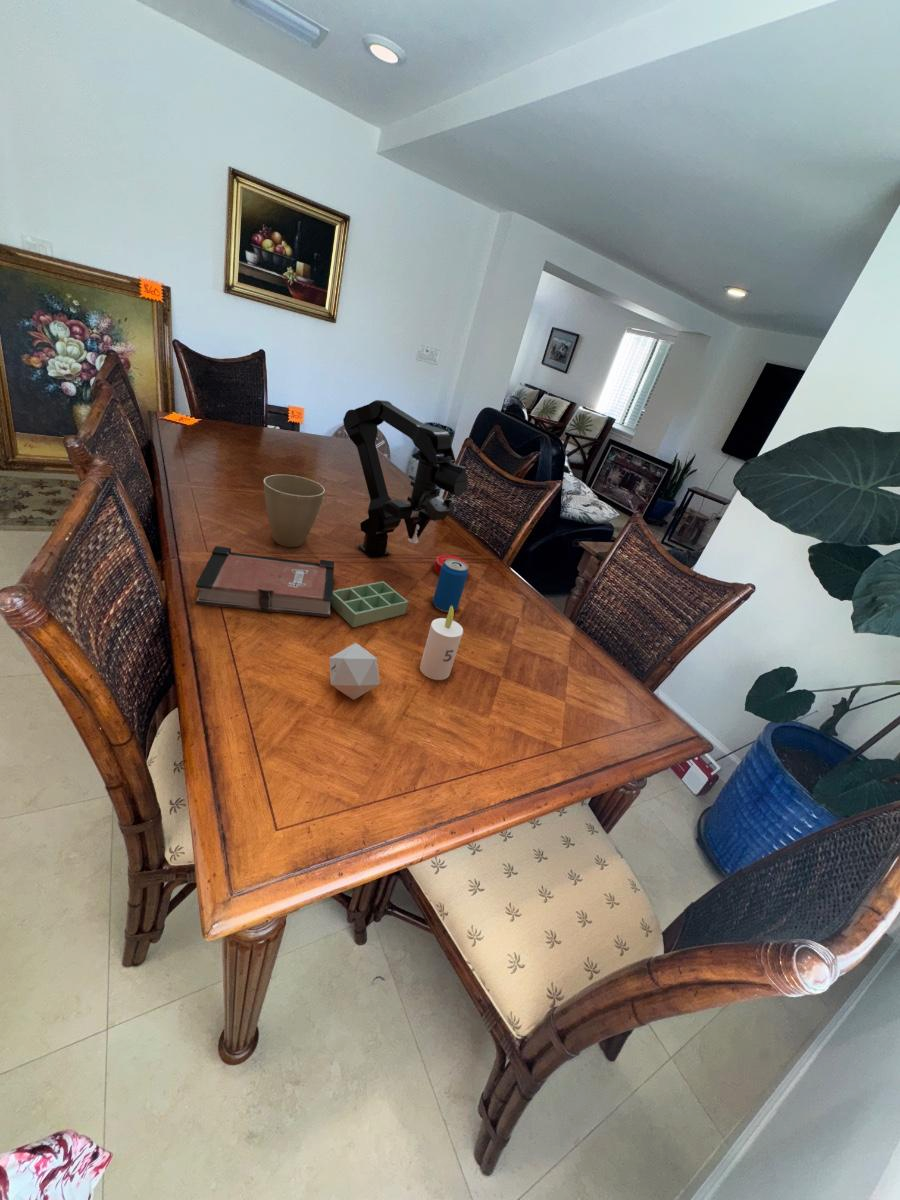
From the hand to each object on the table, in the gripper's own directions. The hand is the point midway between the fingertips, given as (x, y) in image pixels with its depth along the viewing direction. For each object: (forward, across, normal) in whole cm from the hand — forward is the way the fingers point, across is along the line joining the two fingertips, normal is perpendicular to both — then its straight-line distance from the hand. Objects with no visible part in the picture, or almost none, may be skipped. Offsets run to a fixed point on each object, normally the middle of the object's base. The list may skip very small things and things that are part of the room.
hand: (413, 537), depth 128 cm
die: (+10, -40, -33) cm, 53 cm away
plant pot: (+10, -22, +24) cm, 34 cm away
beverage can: (+10, -2, -19) cm, 21 cm away
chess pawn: (+1, 0, 0) cm, 1 cm away
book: (+10, -38, +2) cm, 39 cm away
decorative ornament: (+10, +13, -5) cm, 17 cm away
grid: (+10, -22, -12) cm, 27 cm away
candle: (+10, -22, -36) cm, 44 cm away
